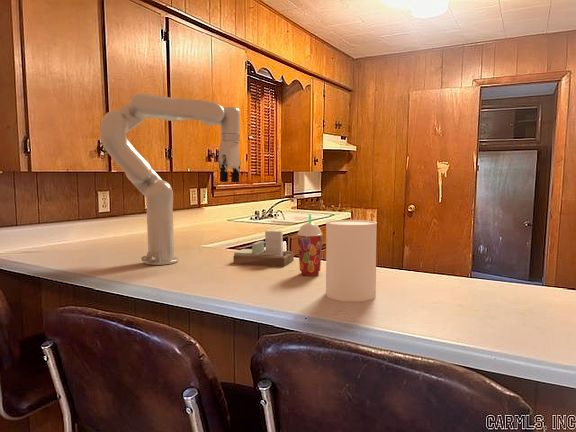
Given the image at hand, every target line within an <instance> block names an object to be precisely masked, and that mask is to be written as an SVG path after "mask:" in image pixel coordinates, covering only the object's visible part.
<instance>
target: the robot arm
mask: <svg viewBox="0 0 576 432" xmlns="http://www.w3.org/2000/svg"><path fill="white" fill-rule="evenodd" d="M146 119H156V120H157V119H158V120H163V121H170V122H181V121H188V120H189V121H191V120H192V121H201V122H202V123H203V124H204V125H206V126H209V127H211V126H213V127H214V126H220V143H219V151H218V160H217V161H218V162H217V163H218V168H219V182H221V183H228V181H229V171H228V170H229V168H231V171H232V172H231V183H239V182H240V172H241V165H242V162H241V161H240V160H241V159H240V158H241V156H240V143H241V141H240V140H241V136H240V135H241V110H240V109H239V108H238V107H234V106H225V107H223V106H222V105H221V104H219V102H218V103H217V102H214V101H209V100H203V99H202V100H201V99H192V98H178V97H177V98H176V97H169V96H161V95H156V94H149V93H136V94H134V95H132V97H131V98H130V100H129V102H127V103H126V104H125V105H124V106H122V107H121V108H119V109H118V110H110V111H108V112H107V113H105V114H104V116H103V118H102V120H101V122H100V127H99V128H100V129H99V136H100V141H101V144H102V146H103V148H104V150H105V151H106V153H107V154H108V155H109V156H110V157H111V159H113V161H114V162H115V163H116V164H117V166H118V167H119V168H120V169H122V171H123V173H125V176H126V178H127V179H128V180H129V181H130V183H132V185H133V186H134V187H135V188H136V189H137V190H138V191H139V192H140V194H142V195H143V197H145V198H146V225H147V227H146V228H147V229H146V230H147V231H146V232H147V253H146V255H144V256H141V261H142V262H144V263H143V264H145V265H149V266H163V265H164V266H165V265H171V264H176V263H179V257H177V256H175V246H174V245H175V242H174V214H173V212H174V207H173V206H174V192H173V188H172V186H171V184H170V183H169V182H168V181H165V180H163V179H162V178H161V176H160V175H158V173H157V172H156V171H155V170H154V169H153V168H152V166H151V164H150V162H149V161H148V160H146V158H144V156H143V155H142V154H140V152H139V151H138V150H137V149H136V148H135V147H134V146H133V144H132V143H131V142H130V140H129V139H128V137H127V135H126V134H127V133H129V132H130V131H132V130H133V129H134V128H136V127H137V126H139V125H140V124H142V123H143V122H144V121H146Z"/></svg>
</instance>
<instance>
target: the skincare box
mask: <svg viewBox="0 0 576 432" xmlns="http://www.w3.org/2000/svg"><path fill="white" fill-rule="evenodd" d="M264 236H265V237H264V240H265V241H264V247H265V250H266V255H275V256H283V251H284V250H283V249H284V246H283V242H284V240H283V239H284V237H283V229H266V230H265V232H264Z"/></svg>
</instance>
